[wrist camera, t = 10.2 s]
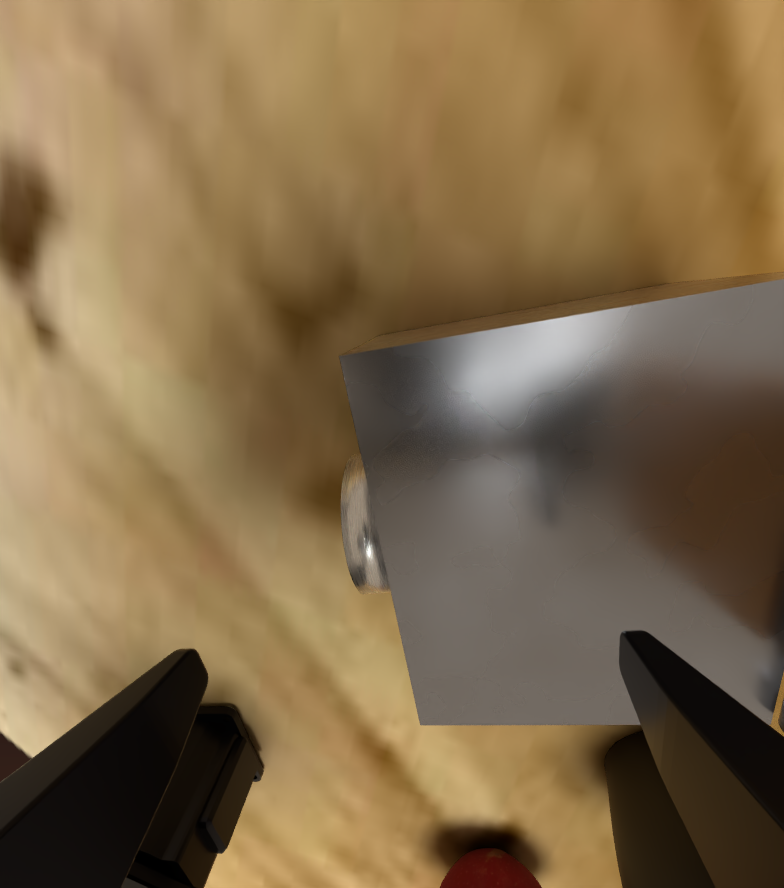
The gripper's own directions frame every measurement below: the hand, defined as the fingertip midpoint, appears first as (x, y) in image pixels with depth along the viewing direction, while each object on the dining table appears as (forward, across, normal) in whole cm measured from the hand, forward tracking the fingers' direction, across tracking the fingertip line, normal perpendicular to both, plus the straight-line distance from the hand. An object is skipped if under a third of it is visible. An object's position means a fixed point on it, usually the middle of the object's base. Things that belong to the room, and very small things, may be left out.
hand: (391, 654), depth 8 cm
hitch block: (+9, -5, 0) cm, 10 cm away
